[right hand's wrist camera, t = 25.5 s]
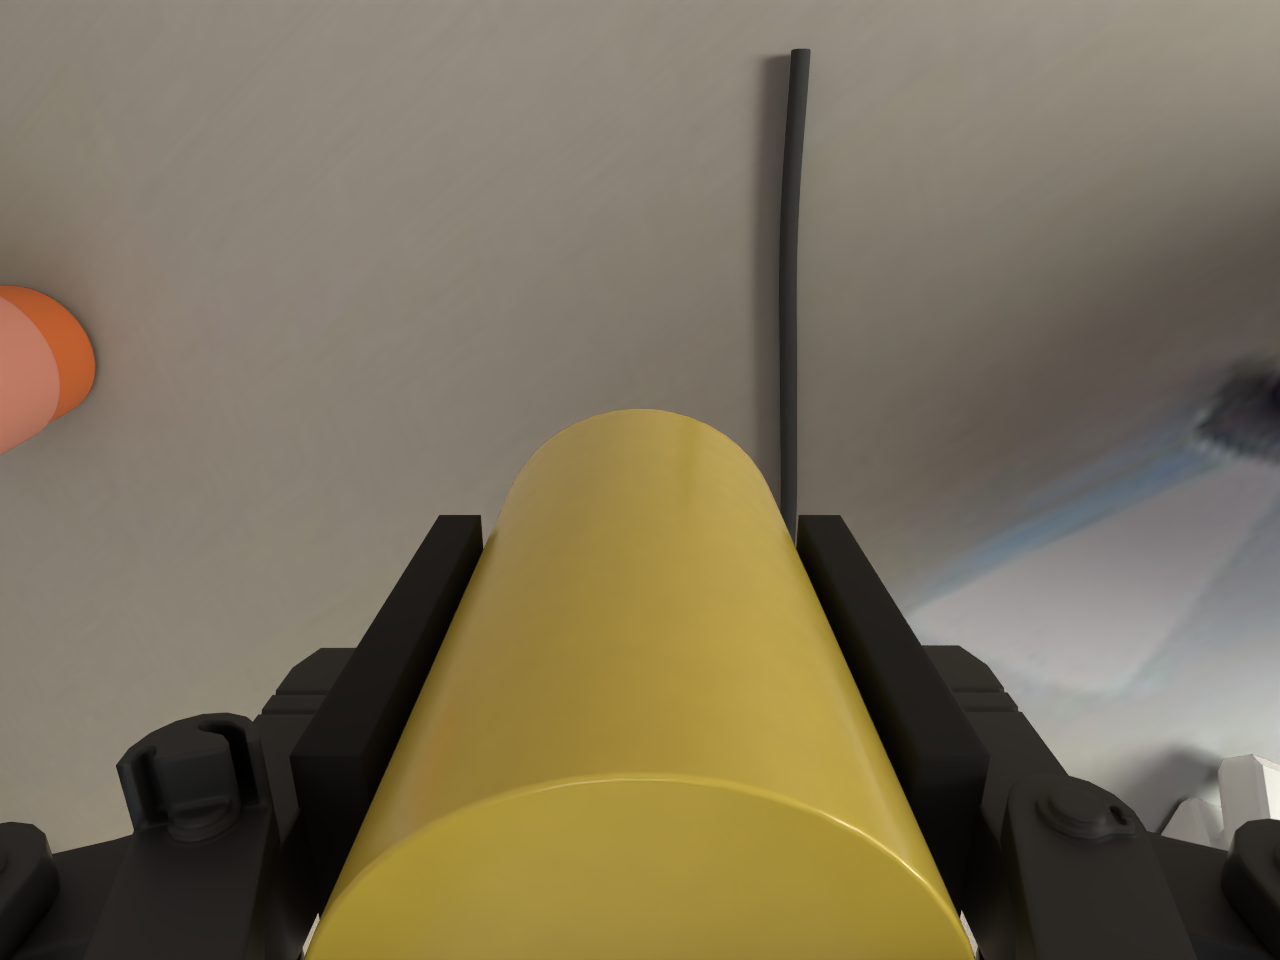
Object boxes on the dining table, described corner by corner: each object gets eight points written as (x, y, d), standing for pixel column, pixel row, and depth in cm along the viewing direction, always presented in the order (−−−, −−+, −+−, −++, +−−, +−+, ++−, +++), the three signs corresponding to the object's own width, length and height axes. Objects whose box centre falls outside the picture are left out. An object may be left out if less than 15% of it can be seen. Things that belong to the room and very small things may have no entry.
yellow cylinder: (601, 704, 18) (553, 1325, 8) (444, 503, 16) (141, 980, 6) (828, 580, 17) (1093, 1124, 7) (686, 351, 15) (771, 643, 5)
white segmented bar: (1233, 737, 44) (1325, 841, 37) (1290, 757, 44) (1390, 862, 38) (1036, 950, 52) (1084, 1062, 46) (1085, 964, 52) (1140, 1078, 46)
